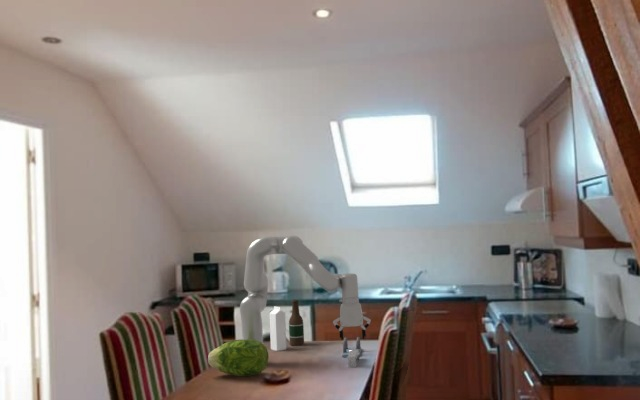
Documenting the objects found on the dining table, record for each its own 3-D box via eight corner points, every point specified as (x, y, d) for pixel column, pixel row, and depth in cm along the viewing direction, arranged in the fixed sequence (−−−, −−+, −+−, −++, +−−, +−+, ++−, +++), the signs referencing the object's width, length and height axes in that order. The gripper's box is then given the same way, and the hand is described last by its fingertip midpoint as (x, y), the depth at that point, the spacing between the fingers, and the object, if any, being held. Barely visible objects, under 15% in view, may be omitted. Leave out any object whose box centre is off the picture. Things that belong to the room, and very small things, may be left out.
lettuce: (214, 371, 262) (213, 336, 262) (272, 371, 257) (271, 335, 258) (202, 380, 247) (201, 343, 248) (264, 380, 243) (262, 342, 243)
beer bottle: (303, 346, 310) (302, 300, 311) (289, 346, 310) (287, 301, 312) (304, 343, 318) (302, 298, 319) (290, 343, 318) (288, 299, 319)
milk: (276, 351, 300) (275, 307, 301) (270, 349, 305) (268, 306, 306) (286, 349, 304) (285, 306, 305) (280, 347, 309) (278, 305, 310)
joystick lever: (357, 367, 259) (356, 356, 259) (346, 367, 259) (346, 357, 260) (359, 358, 276) (358, 348, 276) (349, 358, 277) (349, 348, 277)
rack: (359, 356, 279) (358, 342, 279) (342, 357, 280) (341, 343, 280) (361, 349, 297) (360, 335, 297) (345, 349, 297) (344, 336, 298)
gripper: (330, 303, 264) (333, 341, 263) (369, 301, 262) (371, 339, 261) (332, 300, 272) (334, 338, 271) (369, 299, 270) (372, 336, 269)
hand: (352, 338), depth 266 cm, fingers open, 9 cm apart
